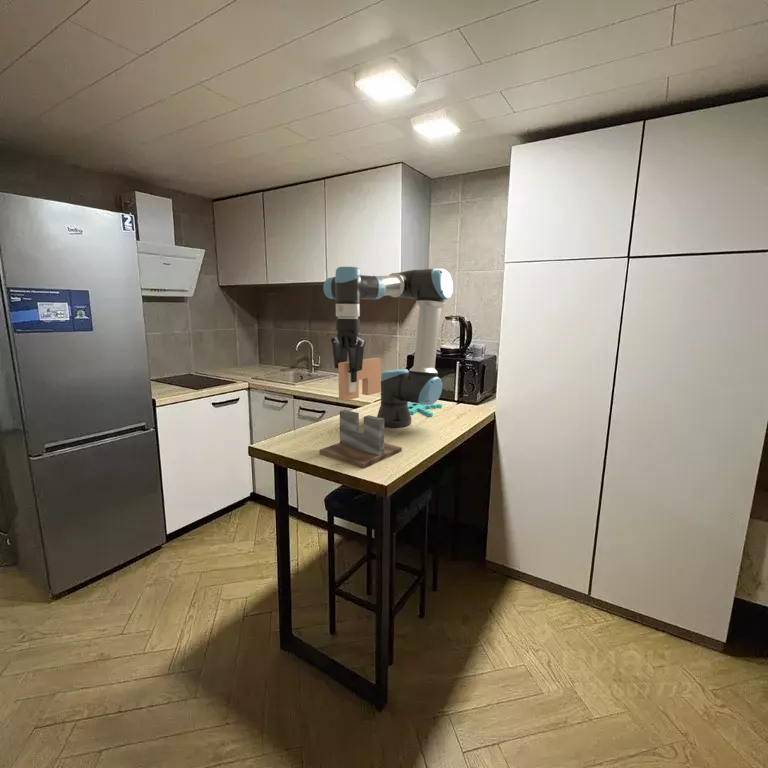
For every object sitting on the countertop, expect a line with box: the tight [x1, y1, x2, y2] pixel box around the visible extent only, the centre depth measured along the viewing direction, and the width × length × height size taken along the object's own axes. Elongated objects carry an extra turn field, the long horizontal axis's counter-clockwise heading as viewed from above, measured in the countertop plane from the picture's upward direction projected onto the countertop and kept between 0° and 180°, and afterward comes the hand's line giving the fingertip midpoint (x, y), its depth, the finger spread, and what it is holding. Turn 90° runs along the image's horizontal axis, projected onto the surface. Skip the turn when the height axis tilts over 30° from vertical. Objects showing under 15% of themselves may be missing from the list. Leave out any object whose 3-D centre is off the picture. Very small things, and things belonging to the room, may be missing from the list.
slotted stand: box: [319, 409, 403, 469], centre depth 143 cm, size 20×20×14 cm
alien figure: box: [408, 402, 443, 418], centre depth 203 cm, size 20×2×20 cm
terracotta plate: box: [337, 357, 382, 402], centre depth 139 cm, size 18×2×12 cm, turn 141°
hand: (348, 391), depth 136 cm, fingers closed on terracotta plate, 2 cm apart
